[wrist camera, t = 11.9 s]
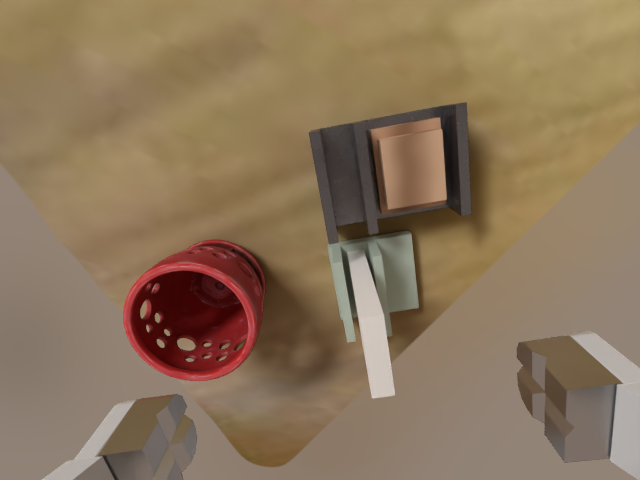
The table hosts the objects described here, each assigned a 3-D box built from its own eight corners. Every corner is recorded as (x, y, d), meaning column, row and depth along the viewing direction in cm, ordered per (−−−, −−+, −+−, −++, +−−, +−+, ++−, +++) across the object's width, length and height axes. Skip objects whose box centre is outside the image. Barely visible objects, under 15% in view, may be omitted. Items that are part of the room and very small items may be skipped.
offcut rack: (447, 104, 38) (475, 101, 31) (452, 202, 42) (479, 219, 34) (311, 130, 39) (308, 132, 32) (328, 223, 43) (328, 244, 36)
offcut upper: (435, 128, 36) (442, 129, 34) (440, 195, 38) (446, 199, 36) (377, 139, 36) (380, 140, 34) (385, 205, 38) (388, 209, 36)
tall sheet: (363, 249, 42) (383, 315, 28) (372, 307, 45) (395, 395, 30) (347, 252, 42) (358, 319, 28) (356, 310, 45) (372, 398, 30)
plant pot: (289, 302, 46) (278, 361, 35) (200, 332, 48) (161, 398, 36) (248, 212, 42) (220, 245, 31) (152, 247, 44) (92, 292, 33)
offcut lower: (434, 117, 37) (440, 117, 35) (440, 199, 40) (445, 203, 38) (368, 129, 38) (371, 130, 36) (379, 210, 40) (381, 214, 39)
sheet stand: (408, 230, 43) (422, 248, 37) (416, 302, 46) (430, 330, 40) (327, 243, 43) (328, 264, 37) (340, 313, 47) (343, 343, 40)
